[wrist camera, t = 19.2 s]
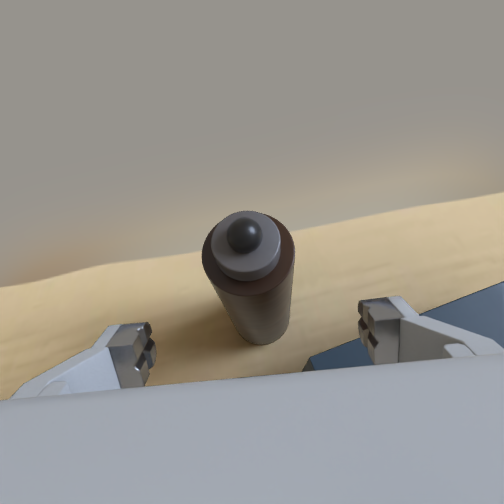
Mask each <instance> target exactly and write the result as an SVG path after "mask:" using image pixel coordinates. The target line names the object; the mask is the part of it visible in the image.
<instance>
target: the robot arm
mask: <svg viewBox="0 0 504 504" xmlns="http://www.w3.org/2000/svg"><path fill="white" fill-rule="evenodd" d="M358 312H359V314H360V315H361V318H360V320H359V321H358V330H359V335H360V339H361V342H362V344H363V346H365V347H367V348H368V355H369V357H370V358H371V360H372V362H373V364H374V365H371V366H360V367H350V368H339V369H328V370H318V371H307V372H296V373H286V374H275V375H264V376H254V377H243V378H232V379H221V380H211V381H200V382H189V383H179V384H168V385H157V386H146V387H144V386H145V384H146V382H147V379H148V377H149V375H150V373H149V369H150V368H152V367H153V366H154V364H155V361H156V354H157V353H156V345H155V342H154V341H153V340H152V339H151V338H150V335H151V333H152V329H151V326H150V324H149V323H148V322H142V323H130V324H117V325H110V326H108V327H107V328H106V330H105V331H104V332H103V333H102V335H101V336H100V337H99V338H98V340H97V341H96V342H95V343H94V345H93V346H92V347H91V349H86V350H84V351H82V352H80V353H78V354H77V355H75V356H73V357H71V358H69V359H68V360H66V361H64V362H62V363H60V364H59V365H57V366H55V367H53V368H51V369H49V370H48V371H46V372H44V373H42V374H40V375H39V376H37V377H35V378H33V379H31V380H29V381H28V382H26V383H24V384H23V385H22V386H21V387H20V388H19V389H18V390H17V391H16V392H15V393H14V394H13V395H12V396H11V397H10V399H8V400H0V504H504V349H503V348H502V347H501V346H500V345H499V344H497V343H496V342H495V341H494V340H493V339H490V338H487V337H484V336H481V335H478V334H475V333H473V332H470V331H467V330H464V329H461V328H458V327H455V326H452V325H449V324H447V323H444V322H441V321H438V320H435V319H432V318H429V317H426V316H419V315H418V314H417V313H416V312H415V311H414V310H413V309H412V308H411V307H410V305H409V304H408V303H407V302H406V301H405V300H404V299H403V298H402V297H401V296H393V297H384V298H376V299H368V300H361V301H359V303H358Z"/></svg>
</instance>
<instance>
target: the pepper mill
mask: <svg viewBox="0 0 504 504" xmlns="http://www.w3.org/2000/svg"><path fill="white" fill-rule="evenodd" d="M294 260H295V246H294V242H293V239H292V237H291V235H290V233H289V231H288V230H287V229H286V227H285V226H284V225H283V224H282V223H280V222H279V221H278V220H276V219H275V218H273V217H271V216H268V215H266V214H262V213H258V212H254V211H241V212H237V213H233V214H231V215H229V216H228V217H226V218H224V219H223V220H222V221H221V222H219V223H218V224H217V225H216V226H215V227H214V228H213V229H212V230H211V231H210V233H209V234H208V236H207V238H206V240H205V242H204V245H203V249H202V264H203V268H204V270H205V273H206V275H207V276H208V278H209V280H210V282H211V284H212V285H213V287H214V289H215V291H216V293H217V295H218V296H219V298H220V300H221V302H222V304H223V305H224V307H225V309H226V311H227V313H228V314H229V316H230V318H231V320H232V322H233V323H234V325H235V327H236V329H237V331H238V332H239V334H240V335H241V336H242V337H243V338H244V339H245V340H247V341H249V342H251V343H254V344H260V345H263V344H269V343H272V342H274V341H276V340H277V339H279V338H280V337H281V336H282V335H283V334H284V332H285V331H286V329H287V327H288V323H289V316H290V305H291V294H292V283H293V272H294Z"/></svg>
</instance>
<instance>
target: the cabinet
mask: <svg viewBox="0 0 504 504" xmlns="http://www.w3.org/2000/svg"><path fill="white" fill-rule="evenodd" d="M419 316H426V317H429V318H432V319H435V320H438V321H441V322H444V323H447V324H449V325H452V326H455V327H458V328H461V329H464V330H467V331H470V332H473V333H475V334H478V335H481V336H484V337H487V338H490V339H493V340H494V341H495V342H496V343H497V344H499V345H500V346H501V347H502V348H503V349H504V281H503V282H500V283H498V284H495V285H493V286H490V287H488V288H485V289H482V290H480V291H477V292H475V293H472V294H470V295H467V296H465V297H462V298H460V299H457V300H454V301H452V302H449V303H447V304H444V305H442V306H439V307H437V308H434V309H432V310H429V311H426V312H424V313H421V314H419ZM371 365H374V364H373V362H372V360H371V358H370V357H369V355H368V348H367V347H365V346H363V344H362V342H361V339H360V338H358V339H355V340H353V341H350V342H347V343H345V344H342V345H340V346H337V347H335V348H332V349H330V350H327V351H325V352H322V353H319V354H317V355H314V356H312V357H310V358H309V359H308V361H307V363H306V365H305V367H304V368H303V370H302V372H307V371H318V370H328V369H339V368H350V367H360V366H371Z"/></svg>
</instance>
